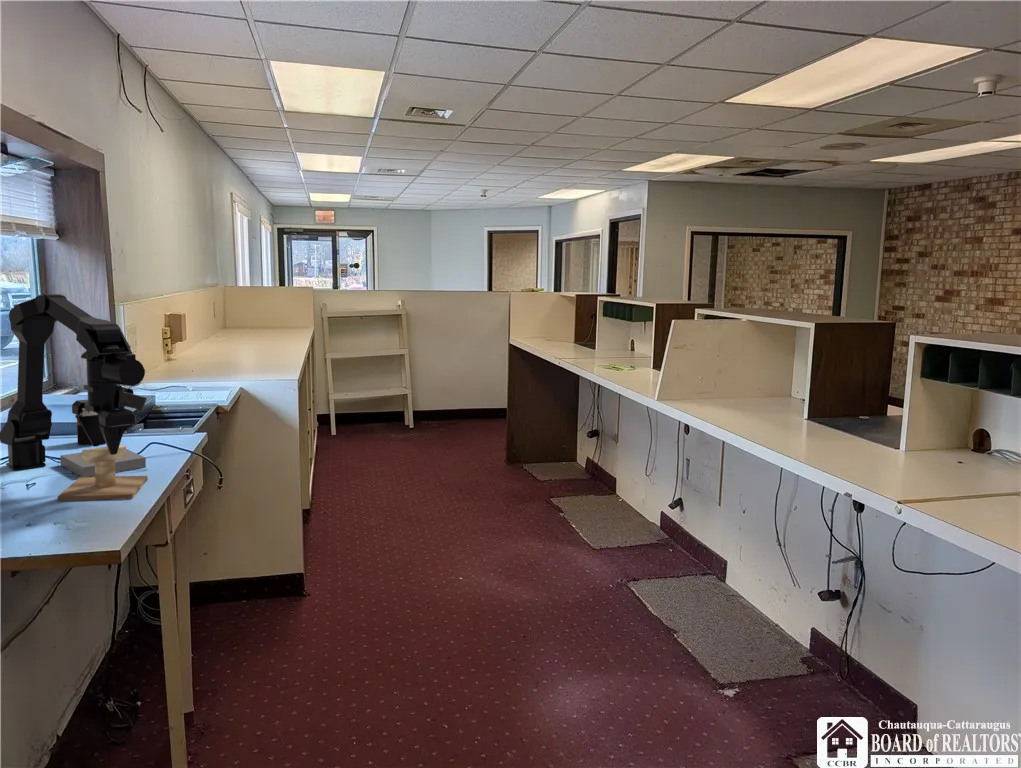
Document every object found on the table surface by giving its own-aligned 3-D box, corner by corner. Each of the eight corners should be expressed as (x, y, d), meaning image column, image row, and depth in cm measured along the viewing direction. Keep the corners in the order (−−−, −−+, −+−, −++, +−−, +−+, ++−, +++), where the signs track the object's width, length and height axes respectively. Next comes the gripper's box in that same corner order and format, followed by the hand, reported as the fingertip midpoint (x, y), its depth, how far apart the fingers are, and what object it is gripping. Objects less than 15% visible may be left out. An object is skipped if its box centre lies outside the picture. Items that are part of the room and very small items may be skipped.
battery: (79, 441, 187) (78, 406, 186) (107, 440, 190) (107, 406, 189) (77, 445, 184) (76, 409, 182) (106, 444, 186) (105, 409, 185)
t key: (88, 490, 145) (87, 452, 144) (82, 487, 147) (81, 449, 146) (127, 483, 152) (126, 446, 150) (121, 480, 154) (120, 444, 152)
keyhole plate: (83, 477, 157) (83, 467, 156) (60, 465, 165) (60, 455, 165) (145, 467, 168) (145, 457, 167) (121, 455, 176) (121, 446, 176)
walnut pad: (132, 498, 145) (132, 494, 145) (58, 500, 141) (57, 496, 141) (147, 479, 158) (147, 475, 158) (80, 481, 154) (79, 477, 154)
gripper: (160, 383, 147) (161, 452, 149) (123, 372, 158) (124, 437, 160) (105, 387, 138) (107, 461, 140) (69, 376, 149) (72, 444, 151)
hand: (104, 450), depth 148 cm, fingers open, 9 cm apart
